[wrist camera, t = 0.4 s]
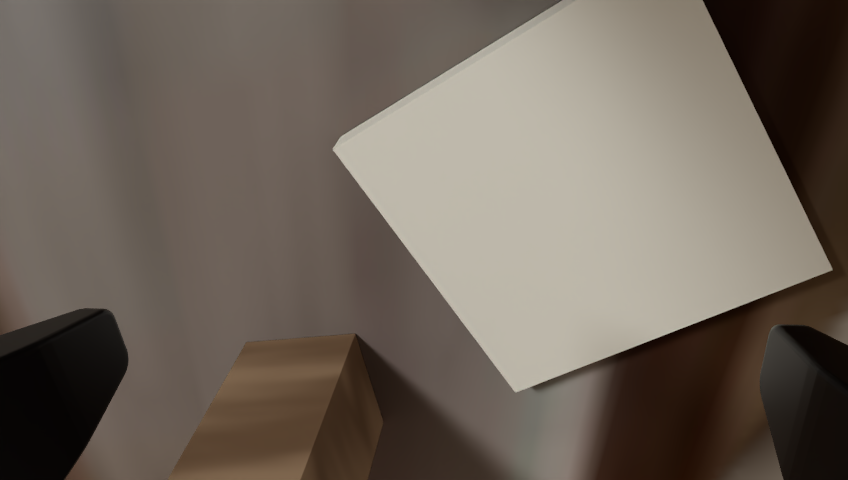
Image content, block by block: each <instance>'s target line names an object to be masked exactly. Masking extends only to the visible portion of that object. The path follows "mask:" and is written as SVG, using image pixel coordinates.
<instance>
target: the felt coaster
mask: <svg viewBox="0 0 848 480" xmlns="http://www.w3.org/2000/svg"><path fill="white" fill-rule="evenodd" d="M333 150H334V152H335V153H336V154H337V156H338V157H339V158H340V160H341V161H342V162H343V164H344V165H345V166H346V168H347V169H348V170H349V172H350V173H351V174H352V176H353V177H354V178H355V180H356V181H357V182H358V184H359V185H360V186H361V188H362V189H363V190H364V192H365V193H366V194H367V196H368V197H369V198H370V200H371V201H372V202H373V204H374V205H375V206H376V208H377V209H378V210H379V212H380V213H381V214H382V216H383V217H384V218H385V220H386V221H387V222H388V224H389V225H390V226H391V228H392V229H393V230H394V232H395V233H396V234H397V236H398V237H399V238H400V240H401V241H402V242H403V244H404V245H405V246H406V248H407V249H408V250H409V252H410V253H411V254H412V256H413V257H414V258H415V260H416V261H417V262H418V264H419V265H420V266H421V268H422V269H423V270H424V272H425V273H426V274H427V276H428V277H429V278H430V280H431V281H432V282H433V284H434V285H435V286H436V288H437V289H438V290H439V292H440V293H441V294H442V296H443V297H444V298H445V300H446V301H447V302H448V304H449V305H450V306H451V308H452V309H453V310H454V312H455V313H456V314H457V316H458V317H459V318H460V320H461V321H462V322H463V324H464V325H465V326H466V328H467V329H468V330H469V332H470V333H471V334H472V336H473V337H474V338H475V340H476V341H477V342H478V344H479V345H480V346H481V347H482V349H483V350H484V351H485V353H486V354H487V355H488V357H489V358H490V359H491V361H492V362H493V363H494V365H495V366H496V367H497V369H498V370H499V371H500V373H501V374H502V375H503V377H504V378H505V379H506V381H507V382H508V383H509V385H510V386H511V387H512V389H513V390H514V391H515V393H516V392H518V391H521V390H524V389H526V388H529V387H531V386H534V385H537V384H539V383H542V382H544V381H547V380H550V379H552V378H555V377H557V376H560V375H562V374H565V373H568V372H570V371H573V370H575V369H578V368H581V367H583V366H586V365H588V364H591V363H593V362H596V361H599V360H601V359H604V358H606V357H609V356H612V355H614V354H617V353H619V352H622V351H625V350H627V349H630V348H632V347H635V346H637V345H640V344H643V343H645V342H648V341H650V340H653V339H656V338H658V337H661V336H663V335H666V334H669V333H671V332H674V331H676V330H679V329H681V328H684V327H687V326H689V325H692V324H694V323H697V322H700V321H702V320H705V319H707V318H710V317H712V316H715V315H718V314H720V313H723V312H725V311H728V310H731V309H733V308H736V307H738V306H741V305H744V304H746V303H749V302H751V301H754V300H756V299H759V298H762V297H764V296H767V295H769V294H772V293H775V292H777V291H780V290H782V289H785V288H788V287H790V286H793V285H795V284H798V283H800V282H803V281H806V280H808V279H811V278H813V277H816V276H819V275H821V274H824V273H826V272H829V271H832V270H833V269H832V267H831V265H830V263H829V261H828V259H827V257H826V255H825V253H824V251H823V248H822V246H821V244H820V242H819V240H818V238H817V236H816V234H815V232H814V230H813V228H812V226H811V224H810V222H809V220H808V217H807V215H806V213H805V211H804V209H803V207H802V205H801V203H800V201H799V199H798V197H797V195H796V193H795V191H794V188H793V186H792V184H791V182H790V180H789V178H788V176H787V174H786V172H785V170H784V168H783V166H782V164H781V162H780V160H779V157H778V155H777V153H776V151H775V149H774V147H773V145H772V143H771V141H770V139H769V137H768V135H767V133H766V131H765V128H764V126H763V124H762V122H761V120H760V118H759V116H758V114H757V112H756V110H755V108H754V106H753V104H752V102H751V100H750V97H749V95H748V93H747V91H746V89H745V87H744V85H743V83H742V81H741V79H740V77H739V75H738V73H737V71H736V68H735V66H734V64H733V62H732V60H731V58H730V56H729V54H728V52H727V50H726V48H725V46H724V44H723V42H722V39H721V37H720V35H719V33H718V31H717V29H716V27H715V25H714V23H713V21H712V19H711V17H710V15H709V13H708V11H707V8H706V6H705V4H704V2H703V0H562V1H560V2H559V3H557V4H556V5H554V6H552V7H551V8H549V9H547V10H546V11H544V12H543V13H541V14H539V15H538V16H536V17H534V18H533V19H531V20H530V21H528V22H526V23H525V24H523V25H521V26H520V27H518V28H517V29H515V30H513V31H512V32H510V33H508V34H507V35H505V36H504V37H502V38H500V39H499V40H497V41H495V42H494V43H492V44H491V45H489V46H487V47H486V48H484V49H482V50H481V51H479V52H478V53H476V54H474V55H473V56H471V57H469V58H468V59H466V60H465V61H463V62H461V63H460V64H458V65H456V66H455V67H453V68H452V69H450V70H448V71H447V72H445V73H443V74H442V75H440V76H439V77H437V78H435V79H434V80H432V81H430V82H429V83H427V84H426V85H424V86H422V87H421V88H419V89H417V90H416V91H414V92H412V93H411V94H409V95H408V96H406V97H404V98H403V99H401V100H399V101H398V102H396V103H395V104H393V105H391V106H390V107H388V108H386V109H385V110H383V111H382V112H380V113H378V114H377V115H375V116H373V117H372V118H370V119H369V120H367V121H365V122H364V123H362V124H360V125H359V126H357V127H356V128H354V129H352V130H351V131H349V132H347V133H346V134H344V135H343V136H341V137H340V138H339V140H338V142H337V143H336V145H335V146H334V148H333Z"/></svg>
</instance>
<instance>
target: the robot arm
mask: <svg viewBox="0 0 848 480" xmlns="http://www.w3.org/2000/svg"><path fill="white" fill-rule="evenodd" d="M127 366H128V352H127V349H126V346H125V344H124V341H123V338H122V336H121V333H120V330H119V328H118V325H117V322H116V320H115V317H114V315H113V314H112V313H111V312H110V311H109V310H107V309H93V308H84V309H79V310H76V311H72V312H69V313H66V314H63V315H60V316H57V317H54V318H51V319H48V320H45V321H42V322H39V323H36V324H33V325H30V326H27V327H24V328H21V329H18V330H15V331H12V332H9V333H6V334H3V335H0V480H65V478H66V477H67V475H68V474H69V472H70V471H71V470H72V468H73V467H74V465H75V464H76V462H77V460H78V459H79V457H80V456H81V454H82V453H83V451H84V449H85V448H86V446H87V444H88V442H89V441H90V439H91V437H92V435H93V433H94V431H95V430H96V428H97V426H98V424H99V422H100V420H101V418H102V416H103V414H104V413H105V411H106V409H107V407H108V405H109V403H110V401H111V399H112V397H113V396H114V394H115V392H116V390H117V388H118V386H119V384H120V382H121V380H122V379H123V377H124V375H125V373H126V370H127ZM760 391H761V397H762V401H763V404H764V408H765V412H766V416H767V420H768V423H769V427H770V431H771V435H772V438H773V442H774V446H775V450H776V453H777V457H778V460H779V464H780V468H781V472H782V476H783V479H784V480H848V345H846V344H844V343H842V342H840V341H838V340H836V339H834V338H832V337H830V336H828V335H826V334H824V333H822V332H820V331H818V330H816V329H814V328H812V327H809V326H806V325H780V324H779V325H775V326H773V327H772V329H771V330H770V333H769V336H768V341H767V345H766V350H765V355H764V359H763V364H762V369H761V374H760Z"/></svg>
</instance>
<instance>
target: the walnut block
mask: <svg viewBox="0 0 848 480" xmlns="http://www.w3.org/2000/svg"><path fill="white" fill-rule="evenodd" d="M382 426H383V419H382V416H381V413H380V409H379V406H378V403H377V400H376V397H375V394H374V391H373V388H372V384H371V381H370V378H369V375H368V372H367V369H366V366H365V362H364V359H363V356H362V353H361V350H360V347H359V344H358V341H357V337H356V334H345V335H332V336H319V337H307V338H294V339H282V340H269V341H257V342H246V344H245V346H244V347H243V349H242V351H241V353H240V354H239V356H238V358H237V360H236V361H235V363H234V365H233V367H232V368H231V370H230V372H229V373H228V375H227V377H226V379H225V380H224V382H223V384H222V386H221V387H220V389H219V391H218V393H217V394H216V396H215V398H214V400H213V401H212V403H211V405H210V407H209V408H208V410H207V412H206V414H205V415H204V417H203V419H202V421H201V422H200V424H199V426H198V428H197V429H196V431H195V433H194V434H193V436H192V438H191V440H190V441H189V443H188V445H187V447H186V448H185V450H184V452H183V454H182V455H181V457H180V459H179V461H178V462H177V464H176V466H175V468H174V469H173V471H172V473H171V475H170V476H169V478H168V480H368V476H369V473H370V469H371V465H372V462H373V458H374V455H375V451H376V447H377V444H378V440H379V436H380V433H381V429H382Z"/></svg>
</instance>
